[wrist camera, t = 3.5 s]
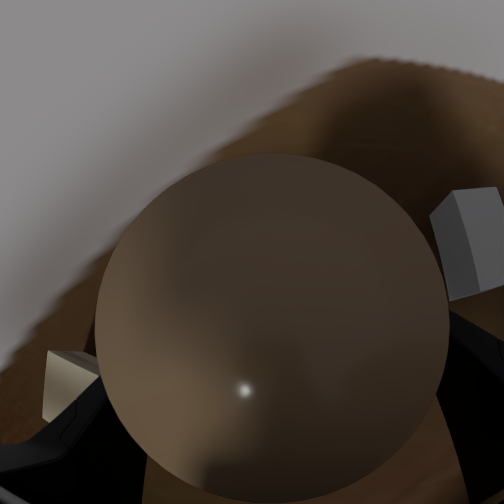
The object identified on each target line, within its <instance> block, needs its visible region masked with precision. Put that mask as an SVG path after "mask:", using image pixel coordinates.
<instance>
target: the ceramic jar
mask: <svg viewBox="0 0 504 504" xmlns="http://www.w3.org/2000/svg"><path fill="white" fill-rule="evenodd" d="M449 327H450V324H449V310H448V300H447V295H446V291H445V286H444V282H443V278H442V275H441V272H440V269H439V267H438V264H437V261H436V259H435V256H434V254H433V252H432V250H431V248H430V247H429V245H428V243H427V241H426V239H425V237H424V236H423V234H422V233H421V231H420V230H419V228H418V227H417V226H416V224H415V223H414V222H413V220H412V219H411V218H410V216H409V215H408V214H407V213H406V212H405V211H404V210H403V209H402V208H401V207H400V206H399V205H398V204H397V203H396V201H395V200H394V199H392V198H391V197H390V196H389V195H387V194H386V193H385V192H384V191H382V190H381V189H380V188H379V187H377V186H376V185H375V184H373V183H371V182H370V181H368V180H366V179H365V178H363V177H361V176H360V175H358V174H356V173H354V172H352V171H350V170H347V169H345V168H343V167H341V166H338V165H336V164H333V163H330V162H326V161H323V160H319V159H316V158H311V157H306V156H299V155H293V154H258V155H247V156H242V157H238V158H233V159H228V160H225V161H222V162H219V163H216V164H213V165H210V166H207V167H205V168H202V169H200V170H198V171H196V172H194V173H192V174H190V175H188V176H186V177H184V178H183V179H181V180H180V181H178V182H176V183H175V184H173V185H172V186H170V187H169V188H167V189H166V190H165V191H164V192H162V193H161V194H160V195H159V196H158V197H156V198H155V199H154V200H153V201H152V202H151V203H150V204H149V205H148V206H147V207H146V208H145V209H144V210H143V211H142V212H141V213H140V214H139V215H138V216H137V217H136V219H135V220H134V221H133V223H132V224H131V225H130V226H129V228H128V229H127V230H126V232H125V233H124V235H123V236H122V238H121V240H120V242H119V243H118V245H117V247H116V248H115V250H114V252H113V254H112V256H111V259H110V261H109V263H108V266H107V268H106V271H105V273H104V277H103V280H102V284H101V287H100V291H99V295H98V301H97V308H96V316H95V343H96V354H97V360H98V365H99V369H100V374H101V378H102V381H103V384H104V387H105V389H106V392H107V395H108V397H109V400H110V402H111V404H112V406H113V408H114V410H115V412H116V414H117V415H118V417H119V419H120V421H121V422H122V424H123V425H124V426H125V428H126V429H127V431H128V432H129V434H130V435H131V436H132V438H133V439H134V440H135V441H136V442H137V443H138V444H139V446H140V447H141V448H142V449H143V450H144V451H145V452H146V453H147V454H148V455H149V456H150V457H151V458H152V459H154V460H155V461H156V462H157V463H158V464H160V465H161V466H162V467H163V468H164V469H166V470H167V471H169V472H170V473H172V474H173V475H175V476H177V477H178V478H180V479H181V480H183V481H185V482H187V483H189V484H191V485H193V486H195V487H197V488H199V489H202V490H204V491H206V492H209V493H212V494H215V495H219V496H222V497H225V498H229V499H234V500H240V501H246V502H253V503H286V502H295V501H302V500H307V499H311V498H315V497H319V496H323V495H326V494H329V493H331V492H334V491H337V490H339V489H341V488H344V487H346V486H349V485H351V484H352V483H354V482H356V481H358V480H359V479H361V478H363V477H365V476H366V475H368V474H370V473H371V472H373V471H374V470H375V469H377V468H378V467H379V466H380V465H382V464H383V463H384V462H386V461H387V460H388V459H389V458H391V457H392V456H393V455H394V454H395V453H396V452H397V451H398V450H399V449H400V447H401V446H402V445H403V444H404V443H405V442H406V441H407V440H408V439H409V438H410V436H411V435H412V434H413V432H414V431H415V430H416V428H417V427H418V425H419V424H420V423H421V421H422V420H423V418H424V416H425V414H426V413H427V411H428V409H429V407H430V405H431V403H432V401H433V399H434V397H435V395H436V392H437V389H438V387H439V384H440V381H441V378H442V375H443V372H444V367H445V362H446V358H447V352H448V344H449Z"/></svg>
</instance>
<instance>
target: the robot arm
mask: <svg viewBox="0 0 504 504" xmlns="http://www.w3.org/2000/svg"><path fill="white" fill-rule="evenodd" d="M448 310H449V309H448ZM449 324H450V327H449V344H448V352H447V358H446V362H445V367H444V372H443V375H442V378H441V381H440V384H439V387H438V389H437V392H436V396H437V399H438V401H439V404H440V406H441V409H442V412H443V415H444V417H445V420H446V423H447V426H448V429H449V432H450V435H451V438H452V441H453V444H454V447H455V450H456V453H457V456H458V460H459V464H460V467H461V471H462V474H463V478H464V482H465V485H466V489H467V493H468V497H469V502H470V504H479V503H481V502H483V501H485V500H486V499H488V498H490V497H492V496H493V495H495V494H497V493H498V492H500V491H501V490H503V489H504V342H503V341H502V340H500V339H498V338H497V337H495V336H493V335H492V334H490V333H488V332H487V331H485V330H483V329H482V328H480V327H478V326H477V325H475V324H473V323H472V322H470V321H468V320H467V319H465V318H463V317H461V316H460V315H458V314H456V313H454V312H453V311H451V310H449ZM146 461H147V453H146V452H145V451H144V450H143V449H142V448H141V447H140V446H139V444H138V443H137V442H136V441H135V440H134V439H133V438H132V436H131V435H130V434H129V432H128V431H127V429H126V428H125V426H124V425H123V424H122V422H121V421H120V419H119V417H118V415H117V414H116V412H115V410H114V408H113V406H112V404H111V402H110V400H109V397H108V395H107V392H106V389H105V387H104V384H103V381H102V378H101V375H100V376H99V377H98V378H96V379H95V380H94V381H93V382H92V383H91V384H90V385H89V386H88V387H87V388H86V389H85V390H84V391H83V392H82V393H81V394H80V395H79V396H78V397H77V398H76V400H74V401H73V402H72V403H71V404H70V405H69V406H68V407H67V408H66V409H64V410H63V411H62V412H61V413H60V414H59V415H58V416H57V417H56V418H54V419H53V420H52V421H51V422H50V423H48V424H47V425H46V426H45V427H44V428H42V429H41V430H40V431H39V432H38V433H36V434H35V435H34V436H33V437H31V438H30V439H29V440H27V441H25V442H22V443H19V444H10V445H0V504H142V494H143V485H144V477H145V469H146ZM498 504H504V500H502V501H501V502H499V503H498Z"/></svg>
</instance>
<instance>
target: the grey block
mask: <svg viewBox="0 0 504 504" xmlns="http://www.w3.org/2000/svg"><path fill="white" fill-rule="evenodd" d="M429 217H430V221H431V224H432V227H433V231H434V234H435V238H436V242H437V246H438V249H439V253H440V258H441V262H442V266H443V270H444V275H445V280H446V285H447V290H448V295H449V301H453V300H457V299H460V298H464V297H468V296H471V295H475V294H478V293H481V292H485V291H488V290H491V289H494V288H497V287H500V286H503V285H504V206H503V203H502V200H501V198H500V195H499V192H498V190H497V187H488V188H475V189H464V190H452V192H451V193H450V194H449V195H448V196H447V197H446V198H445V199H444V200H443V201H442V203H441V204H440V205H439V206H438V207H437V208H436V209H435V210H434V211H433V212H432V213H431V214H430V215H429Z"/></svg>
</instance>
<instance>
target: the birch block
mask: <svg viewBox="0 0 504 504" xmlns="http://www.w3.org/2000/svg"><path fill="white" fill-rule="evenodd" d="M100 375H101V374H100V369H99V365H98V360H97V357H94V356H92V355H90V354H87V353H85V352H73V351H48V355H47V364H46V373H45V384H44V398H43V419H45V420H46V421H48V422H49V423H50V422H51V421H52V420H53V419H54V418H56V417H57V416H58V415H59V414H60V413H61V412H62V411H63V410H64V409H66V408H67V407H68V406H69V405H70V404H71V403H72V402H73V401H74V400H76V398H77V397H78V396H79V395H80V394H81V393H82V392H83V391H84V390H85V389H86V388H87V387H88V386H89V385H90V384H91V383H92V382H93V381H94V380H95V379H96V378H98V377H99V376H100Z"/></svg>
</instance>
